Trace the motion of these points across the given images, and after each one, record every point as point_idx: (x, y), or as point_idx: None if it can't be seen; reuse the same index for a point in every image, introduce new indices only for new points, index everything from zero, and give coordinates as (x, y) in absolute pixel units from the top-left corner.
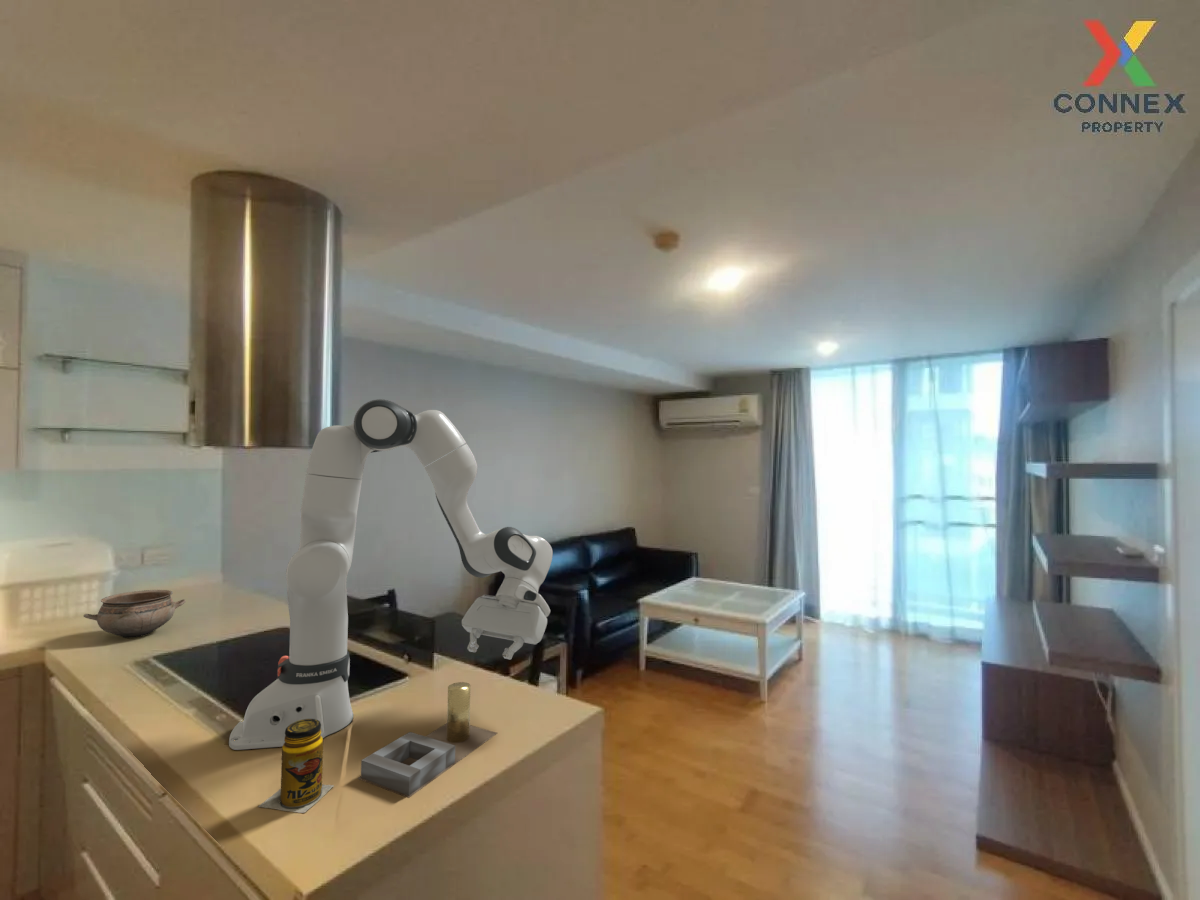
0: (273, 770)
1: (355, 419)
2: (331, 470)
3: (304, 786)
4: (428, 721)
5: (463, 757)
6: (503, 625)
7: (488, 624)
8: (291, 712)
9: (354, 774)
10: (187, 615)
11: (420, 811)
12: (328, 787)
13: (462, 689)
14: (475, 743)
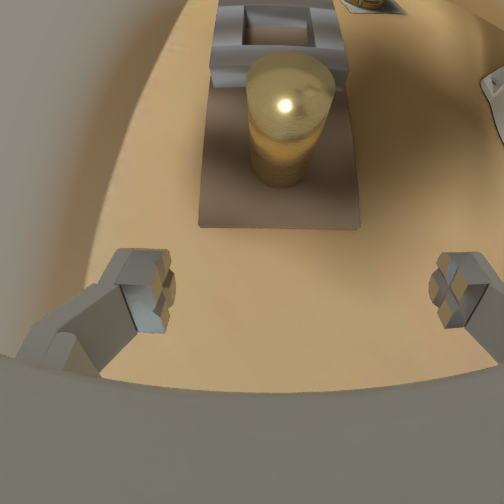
0: (446, 30)
1: None
2: None
3: None
4: (416, 219)
5: (208, 105)
6: (242, 483)
7: (500, 415)
8: None
9: (357, 34)
10: None
11: (193, 18)
12: (353, 9)
13: (260, 68)
14: (219, 156)
